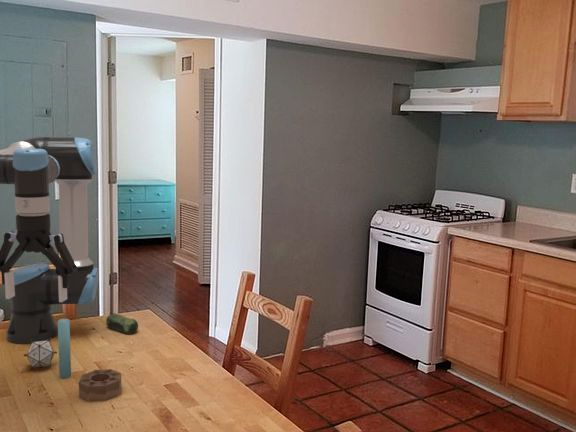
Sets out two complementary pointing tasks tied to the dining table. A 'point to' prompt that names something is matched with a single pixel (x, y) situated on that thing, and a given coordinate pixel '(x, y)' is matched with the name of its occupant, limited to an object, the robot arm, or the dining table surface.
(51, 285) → the robot arm
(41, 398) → the dining table surface
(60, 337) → the teal rounded stick
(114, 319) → the vegetable
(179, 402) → the dining table surface
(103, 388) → the bead
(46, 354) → the game die
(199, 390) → the dining table surface
